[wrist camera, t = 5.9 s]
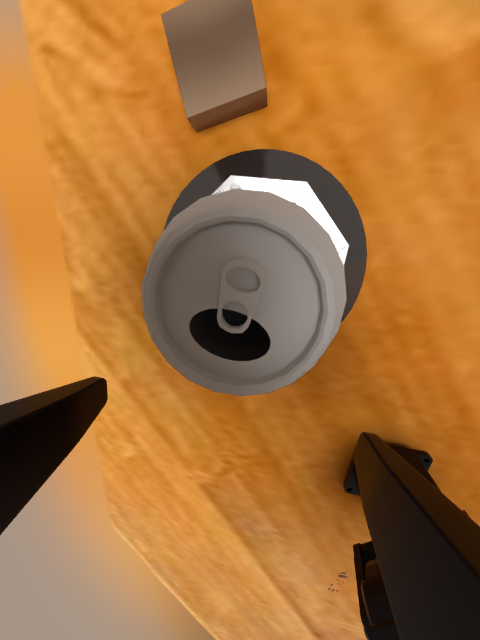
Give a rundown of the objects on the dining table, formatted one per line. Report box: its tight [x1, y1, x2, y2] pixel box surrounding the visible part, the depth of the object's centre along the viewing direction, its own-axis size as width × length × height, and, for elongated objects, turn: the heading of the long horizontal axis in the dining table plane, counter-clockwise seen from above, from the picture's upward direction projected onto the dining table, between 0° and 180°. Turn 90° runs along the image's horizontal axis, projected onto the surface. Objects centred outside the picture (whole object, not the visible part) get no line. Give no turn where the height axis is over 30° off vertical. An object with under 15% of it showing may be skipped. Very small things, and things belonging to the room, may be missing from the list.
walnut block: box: [161, 0, 267, 132], centre depth 14 cm, size 5×5×2 cm
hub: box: [164, 149, 367, 322], centre depth 18 cm, size 16×16×2 cm
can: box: [142, 189, 347, 396], centre depth 13 cm, size 8×8×12 cm
